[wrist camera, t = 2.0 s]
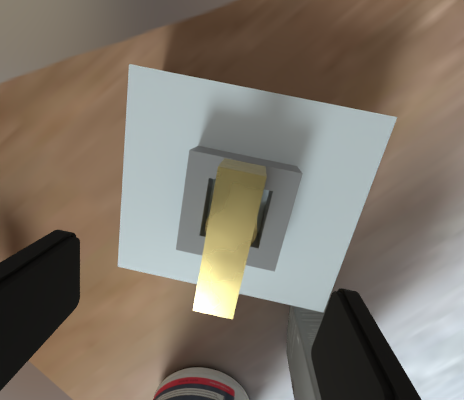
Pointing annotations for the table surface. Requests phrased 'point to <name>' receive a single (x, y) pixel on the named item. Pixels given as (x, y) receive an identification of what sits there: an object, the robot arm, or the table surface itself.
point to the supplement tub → (199, 386)
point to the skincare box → (303, 351)
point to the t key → (229, 236)
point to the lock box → (250, 151)
